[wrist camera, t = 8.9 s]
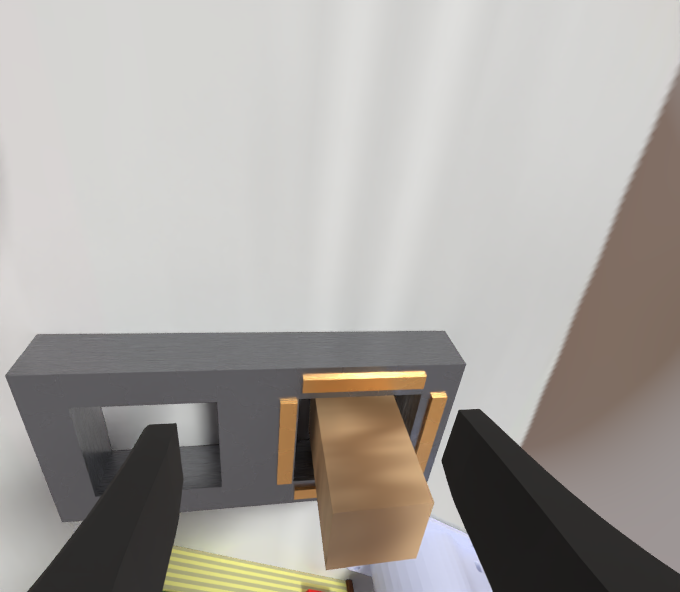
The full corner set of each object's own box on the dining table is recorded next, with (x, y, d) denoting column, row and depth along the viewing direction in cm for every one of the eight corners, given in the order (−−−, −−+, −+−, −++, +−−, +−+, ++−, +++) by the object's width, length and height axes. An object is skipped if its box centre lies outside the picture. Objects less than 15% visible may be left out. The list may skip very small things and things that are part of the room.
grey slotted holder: (444, 331, 23) (467, 366, 20) (410, 453, 28) (425, 494, 25) (37, 334, 19) (2, 379, 16) (82, 475, 24) (60, 525, 22)
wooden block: (385, 372, 24) (433, 502, 17) (375, 424, 26) (416, 558, 19) (311, 375, 23) (333, 513, 16) (308, 428, 25) (325, 570, 18)
